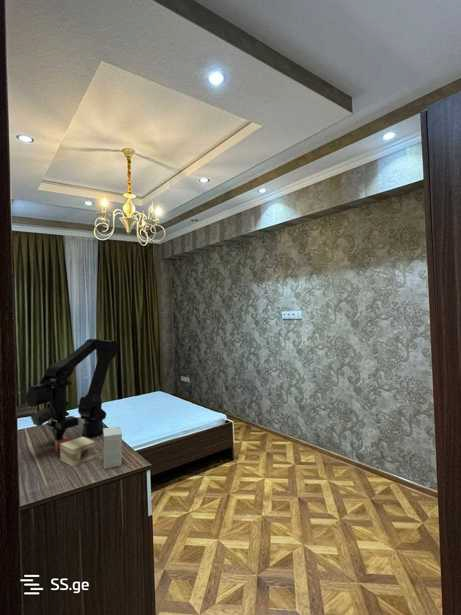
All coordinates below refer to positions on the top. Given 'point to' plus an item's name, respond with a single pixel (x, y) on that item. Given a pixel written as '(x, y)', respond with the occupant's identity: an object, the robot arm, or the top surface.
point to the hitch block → (77, 451)
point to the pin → (62, 440)
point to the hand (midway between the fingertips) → (57, 442)
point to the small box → (112, 447)
